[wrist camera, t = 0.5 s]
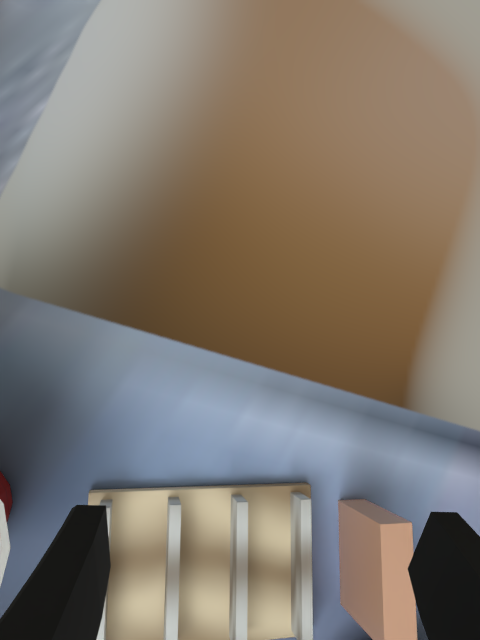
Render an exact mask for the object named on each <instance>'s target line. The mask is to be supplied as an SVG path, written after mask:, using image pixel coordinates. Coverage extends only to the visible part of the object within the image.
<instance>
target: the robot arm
mask: <svg viewBox="0 0 480 640" xmlns="http://www.w3.org/2000/svg"><path fill="white" fill-rule="evenodd" d="M110 568H111V562H110V549H109V537H108V524H107V511H106V505H76V506H75V507H73V508H72V509H71V511H70V513H69V515H68V516H67V518H66V520H65V522H64V524H63V525H62V527H61V529H60V530H59V532H58V534H57V535H56V537H55V539H54V540H53V542H52V543H51V545H50V547H49V548H48V550H47V551H46V553H45V554H44V556H43V558H42V559H41V561H40V562H39V564H38V565H37V567H36V568H35V570H34V571H33V573H32V574H31V576H30V577H29V579H28V580H27V582H26V583H25V584H24V586H23V587H22V589H21V590H20V592H19V593H18V595H17V596H16V597H15V599H14V600H13V602H12V603H11V605H10V606H9V608H8V609H7V610H6V612H5V613H4V615H3V616H2V617H1V619H0V640H96V639H97V635H98V631H99V628H100V624H101V620H102V615H103V609H104V603H105V598H106V592H107V586H108V580H109V574H110ZM408 572H409V576H410V580H411V584H412V588H413V592H414V596H415V600H416V603H417V607H418V610H419V614H420V617H421V620H422V623H423V626H424V629H425V631H426V634H427V637H428V639H429V640H480V537H479V535H478V534H477V533H476V532H475V531H474V530H473V529H472V528H471V527H470V526H469V525H468V524H467V523H466V521H465V520H464V519H463V518H462V517H461V516H460V515H459V514H458V513H457V512H431V513H430V516H429V518H428V520H427V523H426V525H425V528H424V530H423V533H422V535H421V537H420V540H419V542H418V545H417V547H416V549H415V552H414V554H413V557H412V559H411V562H410V564H409V566H408Z"/></svg>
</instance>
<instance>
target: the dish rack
mask: <svg viewBox="0 0 480 640" xmlns="http://www.w3.org/2000/svg"><path fill="white" fill-rule="evenodd" d="M88 505H106V511H107V524H108V537H109V549H110V562H111V568H110V574H109V580H108V586H107V592H106V598H105V603H104V609H103V615H102V620H101V624H100V628H99V631H98V635H97V639H96V640H269V639H279V638H288V637H296V639H297V640H313V604H312V530H311V485H310V484H308V483H280V484H251V485H221V486H192V487H163V488H134V489H105V490H90V492H89V498H88Z"/></svg>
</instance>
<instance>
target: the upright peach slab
mask: <svg viewBox="0 0 480 640" xmlns="http://www.w3.org/2000/svg"><path fill="white" fill-rule="evenodd" d="M338 512H339V557H340V602H341V605H342V606H343V608H344V609H345V610H346V611H347V612H348V613H349V614H350V615H351V616H352V617H353V619H354V620H355V621H356V622H357V623H358V624H359V625H360V626H361V627H362V628H363V630H364V631H365V632H366V633H367V634H368V635H369V636H370V637H371V638H372V639H373V640H417V623H416V601H415V596H414V592H413V588H412V584H411V580H410V576H409V572H408V566H409V564H410V562H411V559H412V557H413V534H412V522H410V521H408V520H406V519H404V518H402V517H400V516H398V515H396V514H394V513H392V512H390V511H388V510H386V509H384V508H382V507H380V506H378V505H376V504H374V503H372V502H370V501H368V500H366V499H354V500H338Z"/></svg>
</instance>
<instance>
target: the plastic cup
mask: <svg viewBox="0 0 480 640" xmlns="http://www.w3.org/2000/svg"><path fill="white" fill-rule="evenodd" d="M11 506H12V495H11V489H10V485H9V483H8V482H7V480H6V479H5V477H4V476H3V474H2V473H1V471H0V586H1V583H2V579H3V575H4V571H5V567H6V563H7V559H8V555H9V551H10V542H9V535H8V529H7V521H8V518H9V514H10V510H11Z"/></svg>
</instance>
